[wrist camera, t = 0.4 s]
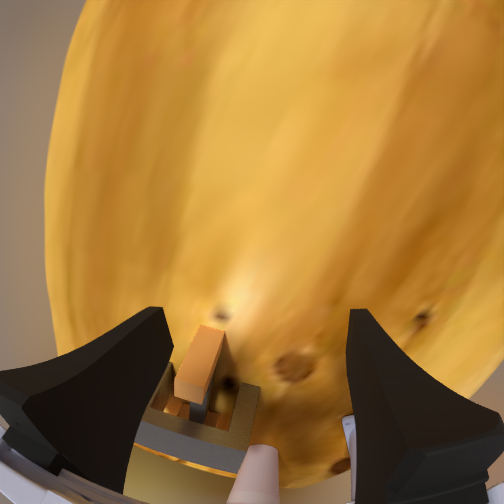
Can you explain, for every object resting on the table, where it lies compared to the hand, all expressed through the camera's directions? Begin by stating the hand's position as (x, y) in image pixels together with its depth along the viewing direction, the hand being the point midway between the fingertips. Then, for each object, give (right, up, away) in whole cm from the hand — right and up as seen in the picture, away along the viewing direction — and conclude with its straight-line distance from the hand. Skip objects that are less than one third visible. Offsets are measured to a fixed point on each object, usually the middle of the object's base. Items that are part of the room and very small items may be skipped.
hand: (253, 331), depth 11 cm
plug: (-5, -10, +15) cm, 19 cm away
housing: (-5, -10, +16) cm, 19 cm away
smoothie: (+1, -21, +19) cm, 28 cm away
